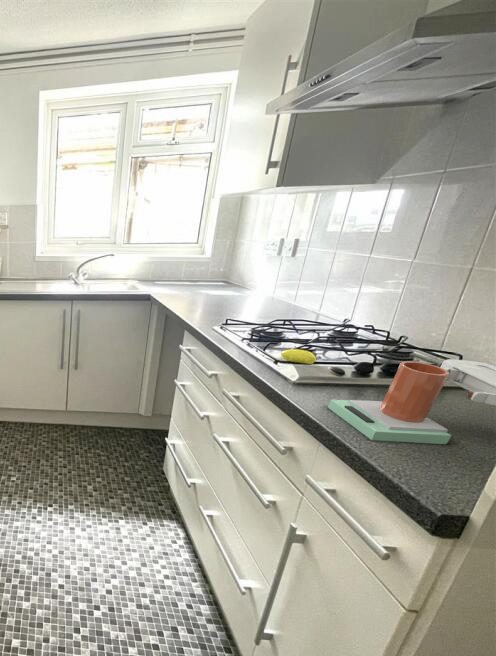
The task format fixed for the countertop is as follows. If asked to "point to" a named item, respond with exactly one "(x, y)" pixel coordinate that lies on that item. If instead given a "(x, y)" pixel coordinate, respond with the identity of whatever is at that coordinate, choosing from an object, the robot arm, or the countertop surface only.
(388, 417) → the scale
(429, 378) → the orange mug
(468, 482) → the countertop surface
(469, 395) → the robot arm
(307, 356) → the lemon
